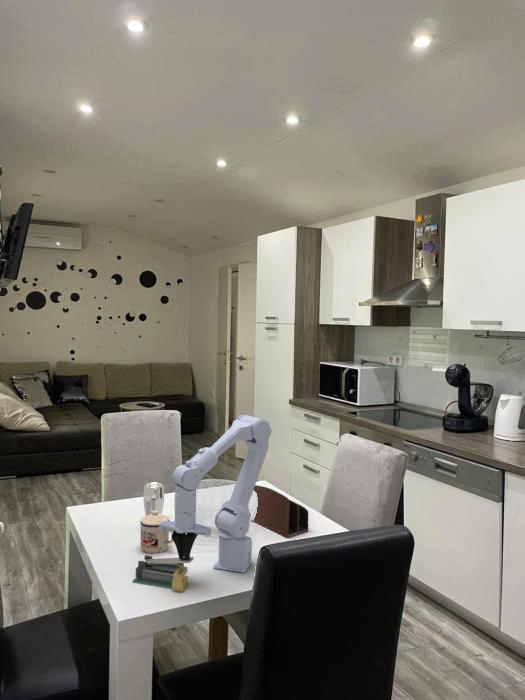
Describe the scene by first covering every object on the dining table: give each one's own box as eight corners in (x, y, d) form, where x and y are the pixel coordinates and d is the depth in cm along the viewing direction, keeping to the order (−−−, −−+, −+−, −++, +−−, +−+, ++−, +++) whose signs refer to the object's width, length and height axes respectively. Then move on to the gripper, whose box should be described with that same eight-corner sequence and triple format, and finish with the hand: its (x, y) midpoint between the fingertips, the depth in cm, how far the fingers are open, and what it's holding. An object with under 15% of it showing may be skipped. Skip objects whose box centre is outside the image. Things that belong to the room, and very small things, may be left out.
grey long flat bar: (193, 559, 153) (193, 556, 153) (190, 563, 151) (189, 559, 151) (145, 561, 157) (145, 558, 157) (141, 565, 155) (141, 561, 155)
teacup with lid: (133, 550, 172) (134, 513, 171) (151, 539, 180) (151, 504, 179) (165, 558, 167) (166, 519, 166) (182, 547, 175) (183, 510, 174)
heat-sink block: (187, 570, 158) (187, 560, 158) (171, 588, 148) (171, 577, 148) (150, 565, 161) (150, 555, 161) (132, 582, 151) (132, 571, 151)
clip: (188, 584, 150) (189, 567, 150) (182, 592, 146) (182, 574, 146) (178, 582, 151) (178, 565, 151) (171, 590, 147) (171, 573, 146)
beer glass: (165, 525, 193) (166, 482, 192) (160, 532, 186) (161, 488, 185) (146, 523, 194) (147, 481, 193) (140, 531, 187) (140, 487, 186)
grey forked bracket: (152, 571, 158) (152, 555, 158) (144, 578, 153) (144, 562, 153) (143, 569, 158) (143, 554, 158) (135, 576, 154) (135, 561, 154)
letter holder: (286, 539, 184) (288, 497, 183) (250, 521, 200) (251, 482, 199) (308, 532, 190) (310, 492, 190) (271, 515, 206) (272, 478, 205)
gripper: (154, 511, 150) (153, 560, 151) (205, 517, 147) (203, 568, 147) (165, 503, 157) (164, 550, 158) (214, 509, 153) (212, 557, 154)
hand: (184, 558), depth 153 cm, fingers closed
